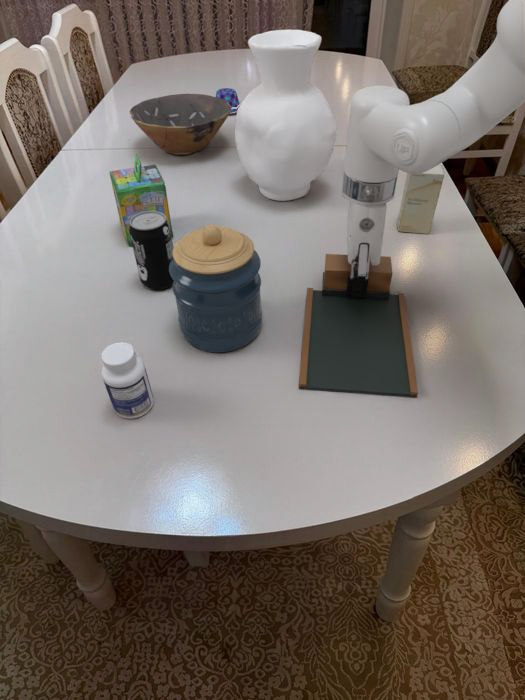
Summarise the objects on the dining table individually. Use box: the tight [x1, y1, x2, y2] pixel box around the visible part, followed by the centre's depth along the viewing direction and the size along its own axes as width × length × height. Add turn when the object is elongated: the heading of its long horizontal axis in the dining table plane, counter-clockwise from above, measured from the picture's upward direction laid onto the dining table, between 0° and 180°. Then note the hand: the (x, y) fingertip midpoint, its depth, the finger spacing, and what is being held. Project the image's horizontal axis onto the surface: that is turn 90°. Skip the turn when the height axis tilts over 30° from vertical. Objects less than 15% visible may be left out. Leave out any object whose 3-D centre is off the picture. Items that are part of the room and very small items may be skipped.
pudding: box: [215, 87, 243, 115], centre depth 149 cm, size 12×12×5 cm
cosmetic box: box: [397, 164, 445, 235], centre depth 95 cm, size 6×4×12 cm
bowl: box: [129, 93, 232, 156], centre depth 126 cm, size 25×25×10 cm
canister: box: [169, 224, 263, 353], centre depth 72 cm, size 13×13×18 cm
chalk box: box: [109, 154, 174, 247], centre depth 95 cm, size 9×9×15 cm
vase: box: [234, 28, 338, 202], centre depth 101 cm, size 19×21×30 cm
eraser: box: [321, 253, 393, 299], centre depth 82 cm, size 11×5×5 cm, turn 83°
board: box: [298, 287, 419, 399], centre depth 75 cm, size 16×22×1 cm
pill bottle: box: [101, 341, 154, 420], centre depth 64 cm, size 5×5×10 cm
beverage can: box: [129, 211, 174, 291], centre depth 83 cm, size 7×7×12 cm
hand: (355, 285), depth 83 cm, fingers closed on eraser, 5 cm apart
